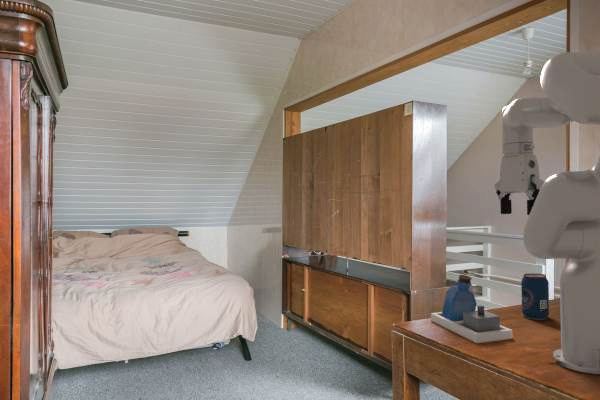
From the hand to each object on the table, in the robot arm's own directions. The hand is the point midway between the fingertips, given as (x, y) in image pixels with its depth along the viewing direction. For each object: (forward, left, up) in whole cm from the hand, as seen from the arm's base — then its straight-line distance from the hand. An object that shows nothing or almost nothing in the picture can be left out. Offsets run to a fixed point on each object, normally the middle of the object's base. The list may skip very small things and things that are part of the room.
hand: (519, 214), depth 122 cm
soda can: (+5, -9, -30) cm, 32 cm away
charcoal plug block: (-6, +17, -29) cm, 34 cm away
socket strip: (-1, +17, -30) cm, 34 cm away
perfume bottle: (+4, +17, -28) cm, 33 cm away
